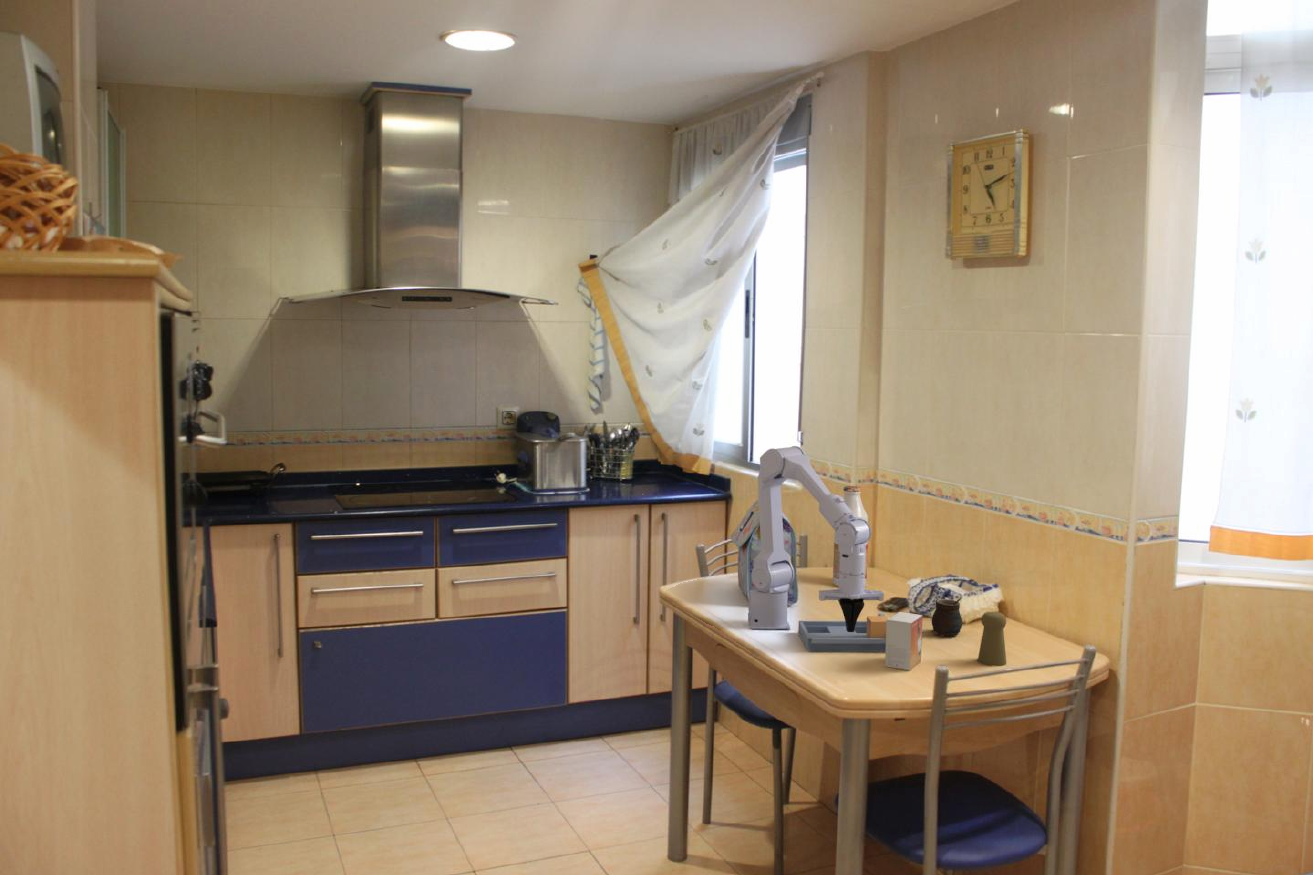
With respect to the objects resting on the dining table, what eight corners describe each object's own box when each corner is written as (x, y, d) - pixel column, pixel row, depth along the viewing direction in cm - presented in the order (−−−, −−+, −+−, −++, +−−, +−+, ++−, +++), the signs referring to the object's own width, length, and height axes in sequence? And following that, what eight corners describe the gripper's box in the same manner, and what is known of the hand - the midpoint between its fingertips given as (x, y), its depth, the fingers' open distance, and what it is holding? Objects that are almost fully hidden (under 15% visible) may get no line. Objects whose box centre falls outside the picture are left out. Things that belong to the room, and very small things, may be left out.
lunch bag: (728, 586, 305) (729, 493, 302) (787, 586, 306) (790, 493, 303) (737, 607, 283) (738, 506, 280) (801, 607, 283) (804, 507, 280)
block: (870, 640, 247) (871, 621, 246) (866, 635, 251) (867, 616, 251) (890, 641, 247) (890, 621, 246) (885, 635, 251) (886, 616, 251)
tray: (807, 651, 245) (808, 630, 244) (798, 632, 260) (798, 612, 259) (896, 652, 245) (897, 630, 245) (881, 633, 260) (882, 612, 260)
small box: (909, 671, 232) (911, 623, 231) (884, 666, 235) (885, 619, 234) (921, 661, 239) (923, 614, 237) (897, 657, 242) (898, 611, 240)
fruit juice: (826, 584, 308) (828, 486, 305) (846, 579, 315) (848, 483, 312) (853, 590, 302) (856, 490, 299) (873, 585, 308) (876, 487, 305)
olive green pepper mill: (973, 657, 242) (975, 609, 241) (999, 657, 242) (1002, 608, 241) (983, 666, 236) (986, 616, 235) (1011, 665, 236) (1013, 616, 235)
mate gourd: (940, 628, 265) (943, 588, 264) (968, 635, 260) (971, 594, 259) (924, 633, 260) (926, 592, 259) (953, 641, 255) (955, 599, 254)
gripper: (823, 576, 244) (821, 635, 245) (887, 576, 244) (885, 636, 245) (817, 569, 251) (816, 626, 252) (880, 569, 251) (878, 627, 252)
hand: (850, 630), depth 249 cm, fingers closed
